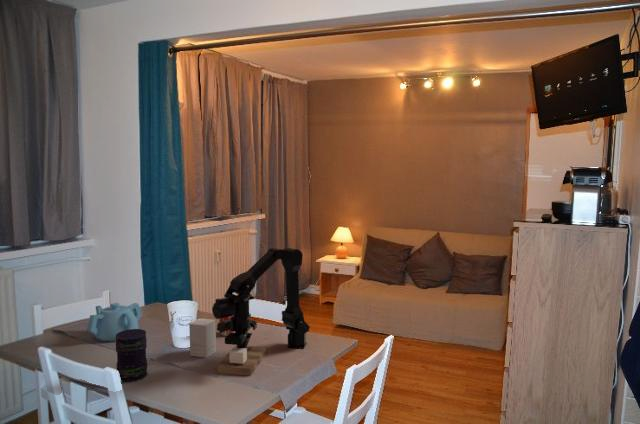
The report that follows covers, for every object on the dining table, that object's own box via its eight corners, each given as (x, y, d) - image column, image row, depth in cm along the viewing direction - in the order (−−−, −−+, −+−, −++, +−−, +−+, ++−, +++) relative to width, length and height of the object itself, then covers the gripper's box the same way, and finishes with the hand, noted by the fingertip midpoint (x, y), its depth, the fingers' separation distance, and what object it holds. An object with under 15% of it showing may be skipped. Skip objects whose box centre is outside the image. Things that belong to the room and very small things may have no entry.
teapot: (143, 327, 217) (141, 296, 216) (134, 342, 199) (133, 309, 197) (97, 329, 214) (95, 299, 213) (84, 345, 195) (82, 312, 194)
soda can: (238, 331, 212) (238, 302, 210) (234, 337, 205) (233, 307, 203) (222, 330, 212) (222, 301, 211) (217, 336, 205) (216, 306, 204)
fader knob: (233, 358, 175) (233, 347, 175) (246, 359, 174) (246, 348, 174) (229, 362, 171) (229, 351, 171) (243, 363, 170) (243, 352, 170)
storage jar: (135, 367, 174) (133, 327, 172) (154, 373, 169) (152, 331, 168) (110, 378, 165) (108, 335, 164) (129, 384, 160) (128, 341, 159)
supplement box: (216, 351, 190) (216, 319, 188) (206, 358, 183) (205, 325, 181) (200, 348, 192) (199, 317, 191) (189, 355, 185) (188, 323, 184)
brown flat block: (236, 351, 189) (236, 344, 189) (266, 353, 187) (266, 346, 187) (217, 373, 170) (217, 365, 169) (250, 375, 168) (250, 368, 167)
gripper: (228, 304, 186) (229, 344, 187) (209, 319, 167) (210, 363, 169) (257, 305, 184) (257, 345, 185) (241, 321, 165) (241, 365, 167)
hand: (241, 354), depth 177 cm, fingers closed
